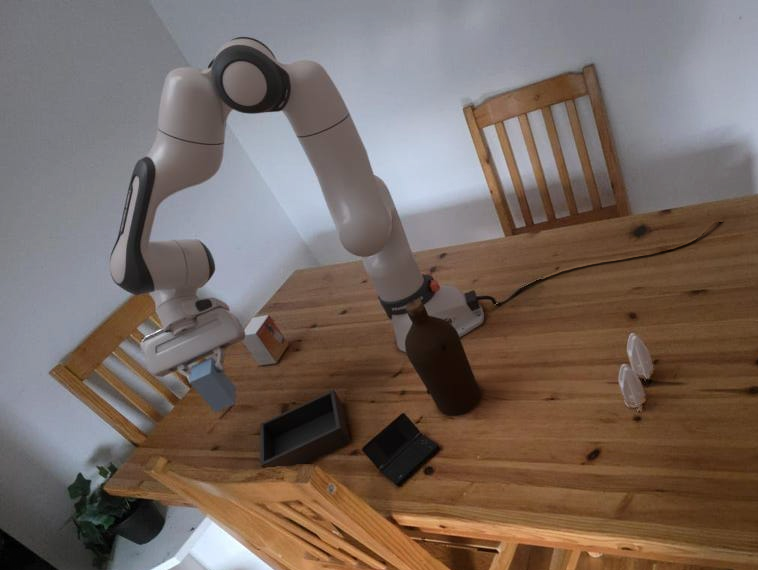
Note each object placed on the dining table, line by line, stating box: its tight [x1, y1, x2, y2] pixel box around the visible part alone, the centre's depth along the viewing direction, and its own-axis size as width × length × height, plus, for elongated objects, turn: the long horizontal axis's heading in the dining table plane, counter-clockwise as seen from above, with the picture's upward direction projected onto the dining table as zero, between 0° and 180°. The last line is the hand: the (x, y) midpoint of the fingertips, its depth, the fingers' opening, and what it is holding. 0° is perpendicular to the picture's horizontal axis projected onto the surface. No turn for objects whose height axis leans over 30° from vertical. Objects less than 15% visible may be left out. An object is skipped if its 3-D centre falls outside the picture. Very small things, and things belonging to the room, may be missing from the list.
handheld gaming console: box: [361, 412, 440, 487], centre depth 114 cm, size 12×7×10 cm
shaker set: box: [617, 332, 654, 413], centre depth 107 cm, size 12×4×11 cm, turn 155°
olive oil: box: [405, 299, 481, 417], centre depth 116 cm, size 11×11×25 cm
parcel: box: [189, 357, 237, 414], centre depth 125 cm, size 4×6×9 cm
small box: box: [241, 314, 290, 366], centre depth 158 cm, size 8×6×10 cm
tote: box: [259, 389, 351, 469], centre depth 128 cm, size 18×14×5 cm
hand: (208, 377), depth 124 cm, fingers closed on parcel, 4 cm apart
